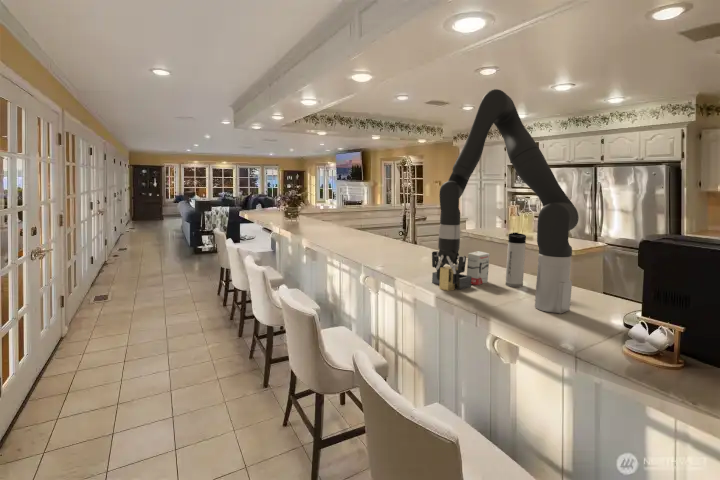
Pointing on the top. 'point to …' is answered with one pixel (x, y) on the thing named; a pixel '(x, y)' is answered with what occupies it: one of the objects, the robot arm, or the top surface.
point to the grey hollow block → (463, 283)
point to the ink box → (478, 267)
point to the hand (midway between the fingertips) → (447, 281)
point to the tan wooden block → (446, 278)
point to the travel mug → (515, 260)
